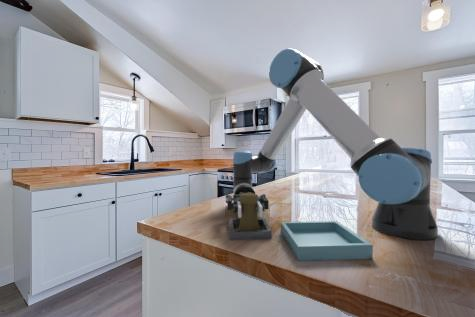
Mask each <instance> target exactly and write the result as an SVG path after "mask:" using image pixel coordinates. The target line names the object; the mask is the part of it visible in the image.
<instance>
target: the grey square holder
mask: <svg viewBox="0 0 475 317" xmlns="http://www.w3.org/2000/svg"><path fill="white" fill-rule="evenodd" d="M239 223H240V218H229V240H230V241H231V240H235V241H236V240H269V239H270V240H271V239H273V237H272V236H273V235H272V233H273V232H272V229H271V226H270V225H269V223H268V221H267V220H266V218H264V217H259V218H258V225H259V227H262V229H259V230H239V229H238V230H234V227H239Z"/></svg>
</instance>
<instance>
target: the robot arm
mask: <svg viewBox="0 0 475 317" xmlns="http://www.w3.org/2000/svg"><path fill="white" fill-rule="evenodd" d="M268 76H269V81H270V83H271V85H273V86H275V87H276V88H277V89H282V91H284V93H285V94H286V95H287V96H288V97H289V98H288V100H287V103H286V105H285V106H284V108H283V110H282V111H281V113H280V115H279V117H278V119H277V121H276V123H275V124H274V126H273V128H272V130H271V131H270V133H269V135H268V137H267V138H266V140H265V142H264V143H263V145H262V147H261V148H260V151H259V152H258V153H257V155H253V153H252V151H247V150H244V151H243V150H242V151H235V152H234V153H233V158H232V160H233V161H232V166H233V179H232V180H233V186H232V188H233V189H232V192H233V195H230V194H226V195H225V203H226V206H227V210H228V211H232V209H233V213H234V214H237V217H238V219H240V218H241V207H242V205H241V203H240V196H241V194H243V193H254V194H256V195H257V197H258V202H257V204H256V210H257V216H258V217H259V218H264V217H263V214H264V212H265V210H269V209H270V208H269V206H270V204H269V202H270V201H269V199H268V198H267V196H266V194H260V195H258V194H257V193H256V191H255V190H254V188H253V174H257V173H259V174H260V173H268V172H271V171H274V169H275V168H276V164H277V161H276V160H277V157H278V155H279V153H280V152H281V151H282V149H283V147H284V146H285V144H286V142H287V141H288V139H289V138H290V136H291V134H292V133H293V131H294V130H295V127H297V124H298V123H299V122H300V120H301V118H302V117H303V115H304V113H305V112H306V110H307V112H309V113H310V114H311V116H312V117H313V118H314V119H315V120H316V121H317V122H318V123H319V124H320V125H321V126H322V128H323V129H324V130H325V131H326V133H327V134H329V136H330V138H332V139H333V140H334V141H335V143H337V145H338V146H339V147H340V149H342V151H344V152H345V154H346V155H347V156H348V157H349V158H350V165H349V167H350V168H351V170H352V171H353V173H355V174H356V175H357V176H358V177H357V178H358V183H359V186H360V188H361V191H363V193H365V195H367V196H368V197H369V198H370V199H372V200H374V201H376V202H377V205H376V208H375V211H374V212H373V215H372V217H371V218H372V219H371V226H372V227H373V229H375V230H377V231H378V232H381V233H383V234H386V235H389V236H394V237H398V238H403V239H409V240H419V241H426V240H428V241H429V240H434V239H436V238H438V233H439V232H438V231H439V229H438V225H437V222H436V220H435V218H434V217H435V216H434V215H433V212H432V209H431V175H432V174H431V172H432V171H431V170H432V164H433V159H432V154H431V152H430V151H429V150H427V149H422V148H414V147H401V146H400V145H399V144H398V143H397V142H396V141H395V140H394V139H392V138H391V137H381V136H379V134H378V133H376V132H375V130H373V128H372V127H370V126H369V125H368V123H366V122H365V120H363V119H362V118H361V117H360V116H359V114H357V113H356V112H355V111H354V110H353V109H352V108H351V107H350V106H349V105H348V104H347V103H346V102H345V101H344V100H343V99H342V98H341V97H340V96H339V95H338V94H337V93H336V92H335V91H334V90H333V89H332V88H331V87H330V86H329V85H328V84H327V83H326V82H325V81H324V76H325V75H324V70H323V68H322V66H321V65H320V64H319V63H318V62H317V61H316V60H314V59H312V58H310V57H309V56H307V55H305V54H303V53H302V52H300V51H299V50H298V49H294V48H286V49H282V50H280V52H278V53H277V54H276V55H275V56H274V58H273V59H272V61H271V63H270V66H269V72H268Z"/></svg>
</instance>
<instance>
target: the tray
mask: <svg viewBox="0 0 475 317" xmlns="http://www.w3.org/2000/svg"><path fill="white" fill-rule="evenodd" d="M280 234H281V235H282V237H283V239H284V240H285V242H286V244H287V245H288V246H289V249H290V250H291V252H292V253H293V255H294V256H295V258H296V260H297V261H301V262H302V261H303V262H304V261H331V260H332V261H333V260H339V261H340V260H341V261H342V260H372V259H373V254H374V252H373V244H372V243H370V242H369V241H368V240H366V239H365V238H363V237H361V236H360V235H358V234H357V233H355V232H354V231H353V230H351V229H350V228H348V227H346V226H345V225H343V223H340V222H339V221H337V220H323V221H322V220H321V221H320V220H319V221H317V220H315V221H280Z"/></svg>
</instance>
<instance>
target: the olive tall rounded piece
mask: <svg viewBox="0 0 475 317" xmlns="http://www.w3.org/2000/svg"><path fill="white" fill-rule="evenodd" d="M256 194H257V193H255V194H254V193H243V194H241V196H240V203H241V205H242V206H241V218H239V219H240V223H239V226H238V230H260V226H259V225H258V217H259V216H258V212H257V208H256V204H257V202H258V197H257V195H258V194H257V195H256Z"/></svg>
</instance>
